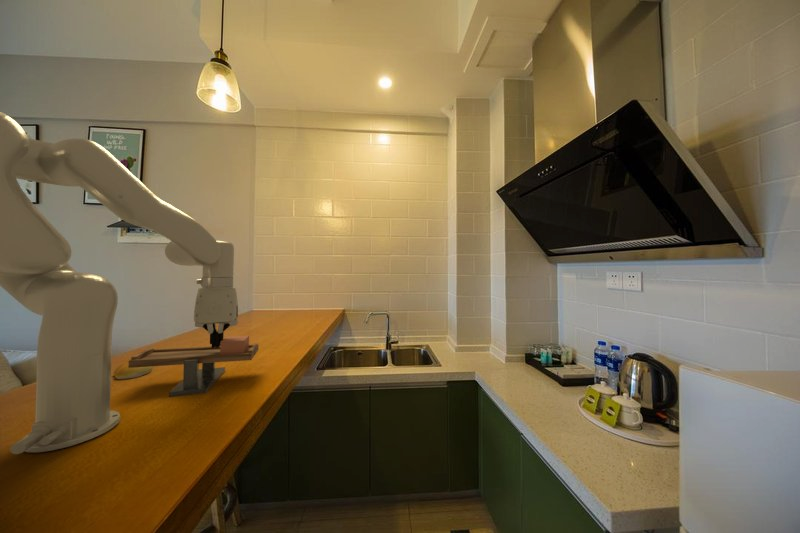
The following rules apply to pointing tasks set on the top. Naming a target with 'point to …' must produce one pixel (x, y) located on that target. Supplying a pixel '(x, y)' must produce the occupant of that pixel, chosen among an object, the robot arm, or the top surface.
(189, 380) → the balance stand
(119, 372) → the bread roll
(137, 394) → the top surface
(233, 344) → the weight block
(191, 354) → the balance beam
